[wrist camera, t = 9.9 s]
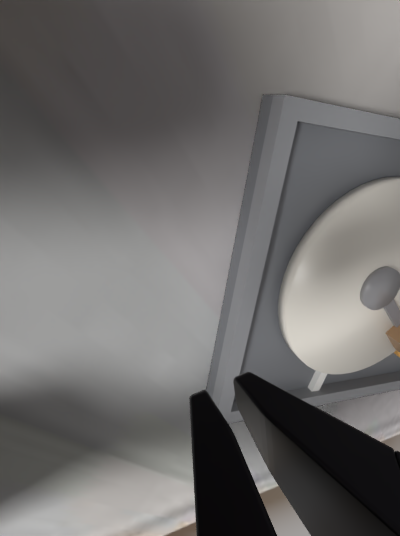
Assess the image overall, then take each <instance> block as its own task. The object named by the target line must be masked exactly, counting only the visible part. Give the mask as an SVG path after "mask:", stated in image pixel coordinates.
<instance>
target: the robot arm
mask: <svg viewBox="0 0 400 536" xmlns="http://www.w3.org/2000/svg"><path fill="white" fill-rule="evenodd" d="M233 384H234V391H235V398H236V404H237V407H238V409H239V412H240V414H241V416H242V418H243V420H244V422H245V424H246V426H247V428H248V430H249V432H250V434H251V436H252V438H253V440H254V442H255V444H256V446H257V448H258V450H259V452H260V453H261V455H262V457H263V459H264V461H265V463H266V465H267V467H268V469H269V471H270V472H271V474H272V476H273V477H274V479H275V481H276V482H277V484H278V485H279V487H280V488H281V490H282V492H283V493H284V495H285V496H286V498H287V499H288V501H289V502H290V504H291V505H292V507H293V508H294V510H295V511H296V513H297V515H298V516H299V518H300V519H301V521H302V522H303V524H304V525H305V527H306V528H307V530H308V531H309V533H310V534H311V536H400V452H399V451H395V452H394V450H393V448H391V447H389V446H387V445H385V444H384V443H382V442H380V441H378V440H376V439H374V438H372V437H371V436H369V435H367V434H365V433H363V432H361V431H359V430H357V429H356V428H354V427H352V426H350V425H348V424H346V423H344V422H343V421H341V420H339V419H337V418H335V417H333V416H331V415H330V414H328V413H326V412H324V411H322V410H320V409H318V408H317V407H315V406H313V405H311V404H309V403H307V402H305V401H303V400H302V399H300V398H298V397H296V396H294V395H292V394H290V393H289V392H287V391H285V390H283V389H281V388H279V387H277V386H276V385H274V384H272V383H270V382H268V381H266V380H264V379H263V378H261V377H259V376H257V375H255V374H253V373H251V372H246V373H243V374H241V375H238V376H236V377H235V378H234V380H233ZM190 418H191V437H192V456H193V474H194V493H195V512H196V530H197V536H277V534H276V532H275V530H274V527H273V525H272V523H271V520H270V518H269V516H268V513H267V511H266V509H265V506H264V504H263V501H262V499H261V497H260V494H259V492H258V490H257V487H256V485H255V482H254V480H253V478H252V475H251V473H250V471H249V468H248V466H247V463H246V461H245V459H244V456H243V454H242V452H241V449H240V447H239V445H238V442H237V440H236V438H235V435H234V433H233V431H232V429H231V428H230V426H229V424H228V423H227V421H226V420H225V418H224V417H223V415H222V413H221V412H220V410H219V409H218V407H217V406H216V404H215V403H214V401H213V399H212V398H211V396H210V395H209V393H208V392H207V391H206V390H202V391H200V392H197V393H195V394H193V395H191V396H190Z"/></svg>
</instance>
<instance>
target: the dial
mask: <svg viewBox="0 0 400 536" xmlns="http://www.w3.org/2000/svg"><path fill="white" fill-rule="evenodd" d="M278 318H279V325H280V329H281V332H282V336H283V338H284V340H285V342H286V344H287V345H288V346H289V348H290V349H291V350H292V352H293V353H294V354H295V355H296V356H297V357H298V358H299V359H300V360H301V361H302V362H303V363H305V364H306V365H307V366H308V367H310V368H312V369H314V370H316V371H319V372H322V373H326V374H346V373H352V372H356V371H359V370H362V369H365V368H367V367H370V366H372V365H374V364H376V363H378V362H380V361H381V360H383V359H384V358H386V357H388V356H389V355H391V354H392V353H393V352H395V351H396V350H397V351H398V352H400V177H386V178H381V179H376V180H373V181H370V182H368V183H365V184H362V185H360V186H359V187H357V188H355V189H353V190H351V191H349V192H348V193H346V194H345V195H343V196H342V197H341V198H339V199H338V200H336V201H335V202H334V203H333V204H332V205H331V206H329V207H328V208H327V209H326V210H325V211H324V212H323V213H322V214H321V215H320V216H319V217H318V218H317V219H316V220H315V222H314V223H313V224H312V225H311V227H310V228H309V229H308V230H307V232H306V233H305V234H304V236H303V238H302V239H301V241H300V242H299V244H298V245H297V247H296V249H295V251H294V253H293V255H292V257H291V259H290V261H289V263H288V266H287V268H286V271H285V273H284V276H283V280H282V284H281V288H280V294H279V300H278Z"/></svg>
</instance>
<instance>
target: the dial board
mask: <svg viewBox="0 0 400 536" xmlns="http://www.w3.org/2000/svg"><path fill="white" fill-rule="evenodd" d="M386 177H400V119H398V118H393V117H389V116H384V115H379V114H375V113H370V112H365V111H360V110H356V109H351V108H346V107H341V106H337V105H332V104H327V103H322V102H318V101H313V100H308V99H303V98H299V97H294V96H289V95H263V97H262V102H261V107H260V113H259V118H258V123H257V128H256V133H255V139H254V144H253V149H252V154H251V159H250V165H249V170H248V175H247V180H246V185H245V191H244V196H243V201H242V206H241V211H240V217H239V222H238V227H237V232H236V237H235V243H234V248H233V253H232V258H231V263H230V269H229V274H228V279H227V284H226V289H225V295H224V300H223V305H222V310H221V315H220V321H219V326H218V331H217V336H216V341H215V347H214V352H213V357H212V362H211V367H210V373H209V378H208V383H207V388H206V391H207V392H208V393H209V395H210V396H211V398H212V399H213V401H214V403H215V404H216V406H217V407H218V409H219V410H220V412H221V413H222V415H223V417H224V418H225V420H226V421H227V423H228V424H230V423H235V422H240V421H244V420H243V418H242V416H241V414H240V412H239V409H238V407H237V404H236V398H235V391H234V384H233V380H234V378H235V377H236V376H238V375H241V374H243V373H246V372H251V373H253V374H255V375H257V376H259V377H261V378H263V379H264V380H266V381H268V382H270V383H272V384H274V385H276V386H277V387H279V388H281V389H283V390H285V391H287V392H289V393H290V394H292V395H294V396H296V397H298V398H300V399H302V400H303V401H305V402H307V403H309V404H311V405H313V406H320V405H325V404H330V403H334V402H339V401H344V400H349V399H354V398H359V397H364V396H369V395H374V394H379V393H384V392H389V391H394V390H399V389H400V352H398V351H397V350H396V351H395V352H393V353H392V354H391V355H389V356H388V357H386V358H384V359H383V360H381V361H380V362H378V363H376V364H374V365H372V366H370V367H367V368H365V369H362V370H359V371H356V372H352V373H346V374H326V373H322V372H319V371H316V370H314V369H312V368H310V367H308V366H307V365H306V364H305V363H303V362H302V361H301V360H300V359H299V358H298V357H297V356H296V355H295V354H294V353H293V352H292V350H291V349H290V348H289V346H288V345H287V344H286V342H285V340H284V338H283V336H282V332H281V329H280V325H279V318H278V300H279V294H280V288H281V284H282V280H283V276H284V273H285V271H286V268H287V266H288V263H289V261H290V259H291V257H292V255H293V253H294V251H295V249H296V247H297V245H298V244H299V242H300V241H301V239H302V238H303V236H304V234H305V233H306V232H307V230H308V229H309V228H310V227H311V225H312V224H313V223H314V222H315V220H316V219H317V218H318V217H319V216H320V215H321V214H322V213H323V212H324V211H325V210H326V209H327V208H328V207H329V206H331V205H332V204H333V203H334V202H335V201H336V200H338V199H339V198H341V197H342V196H343V195H345V194H346V193H348V192H349V191H351V190H353V189H355V188H357V187H359V186H360V185H362V184H365V183H368V182H370V181H373V180H376V179H381V178H386Z"/></svg>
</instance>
